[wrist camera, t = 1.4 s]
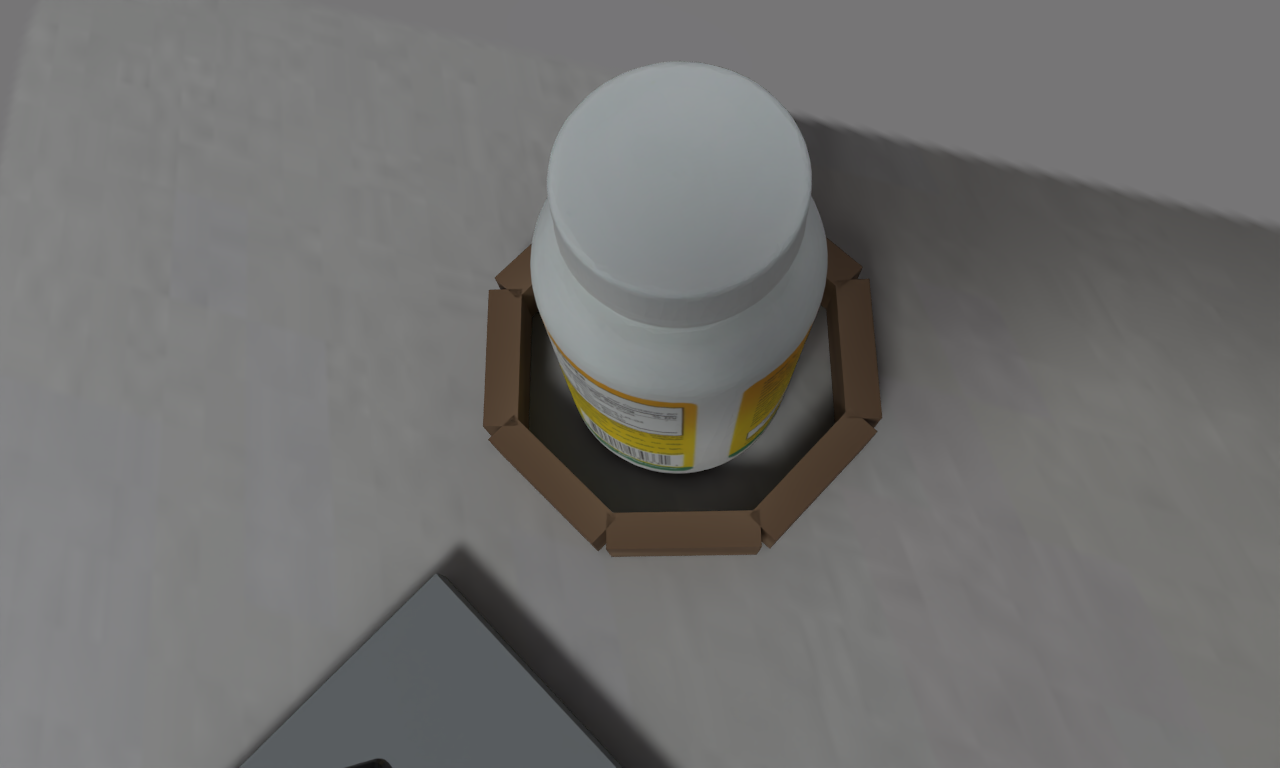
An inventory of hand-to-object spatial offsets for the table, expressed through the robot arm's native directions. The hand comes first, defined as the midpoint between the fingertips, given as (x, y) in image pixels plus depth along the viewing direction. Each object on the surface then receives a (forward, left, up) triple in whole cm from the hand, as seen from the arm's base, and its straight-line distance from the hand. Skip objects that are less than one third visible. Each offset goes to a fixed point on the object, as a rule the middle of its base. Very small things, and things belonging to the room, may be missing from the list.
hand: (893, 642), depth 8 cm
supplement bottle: (+6, -3, -13) cm, 15 cm away
